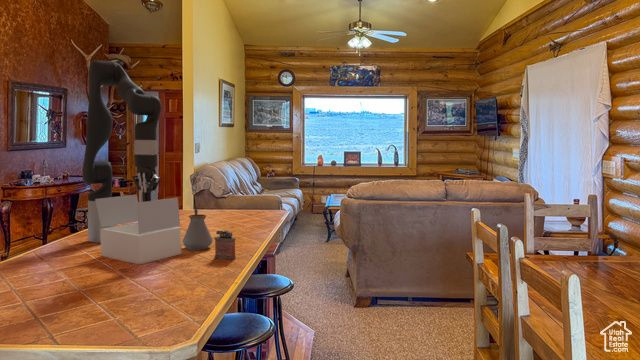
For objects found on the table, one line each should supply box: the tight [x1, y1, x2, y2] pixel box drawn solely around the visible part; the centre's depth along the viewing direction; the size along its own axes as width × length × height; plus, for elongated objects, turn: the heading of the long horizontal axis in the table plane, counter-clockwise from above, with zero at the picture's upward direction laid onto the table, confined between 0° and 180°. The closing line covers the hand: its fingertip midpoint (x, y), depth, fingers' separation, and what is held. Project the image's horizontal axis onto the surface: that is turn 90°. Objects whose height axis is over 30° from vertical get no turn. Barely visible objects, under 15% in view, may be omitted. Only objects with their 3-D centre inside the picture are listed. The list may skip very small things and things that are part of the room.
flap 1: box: [95, 194, 139, 227], centre depth 180 cm, size 10×17×1 cm
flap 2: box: [137, 197, 181, 234], centre depth 168 cm, size 10×17×1 cm
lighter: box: [214, 230, 237, 260], centre depth 170 cm, size 8×3×10 cm, turn 71°
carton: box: [100, 222, 182, 265], centre depth 175 cm, size 22×18×10 cm
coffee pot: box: [182, 204, 214, 251], centre depth 191 cm, size 21×12×15 cm, turn 17°
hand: (146, 202), depth 166 cm, fingers closed
